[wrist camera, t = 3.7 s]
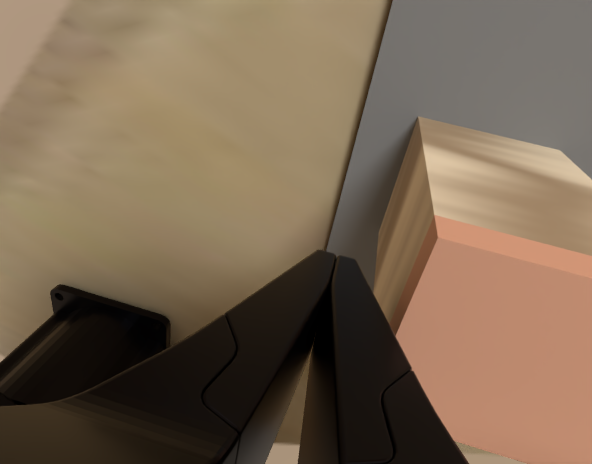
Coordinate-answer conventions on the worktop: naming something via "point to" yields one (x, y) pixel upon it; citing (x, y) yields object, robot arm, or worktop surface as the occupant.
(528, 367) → the block
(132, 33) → the worktop surface
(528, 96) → the mat
